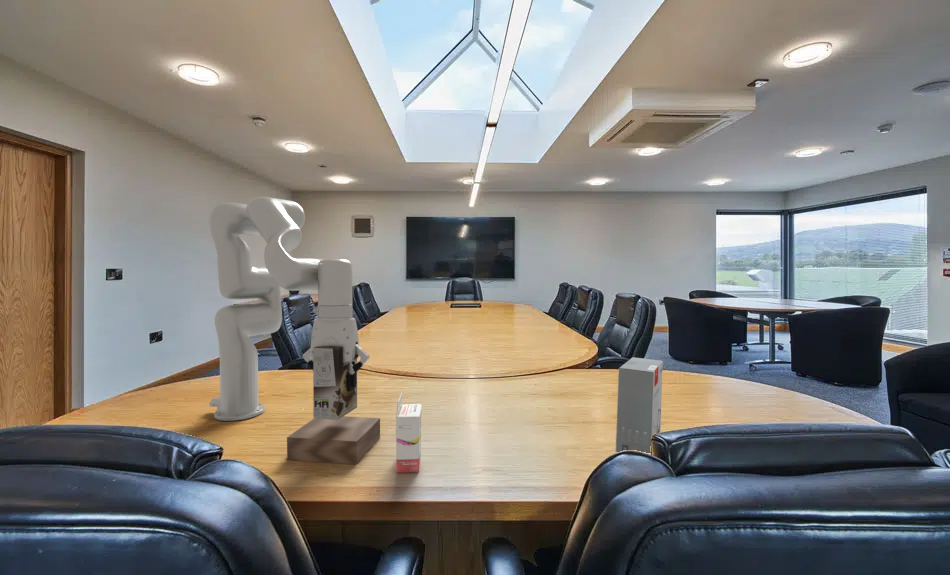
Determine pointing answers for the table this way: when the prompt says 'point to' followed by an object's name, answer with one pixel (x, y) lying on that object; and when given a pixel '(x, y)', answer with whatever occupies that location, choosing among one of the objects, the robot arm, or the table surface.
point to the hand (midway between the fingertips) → (336, 388)
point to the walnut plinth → (334, 440)
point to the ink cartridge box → (408, 437)
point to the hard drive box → (638, 404)
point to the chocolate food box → (331, 384)
